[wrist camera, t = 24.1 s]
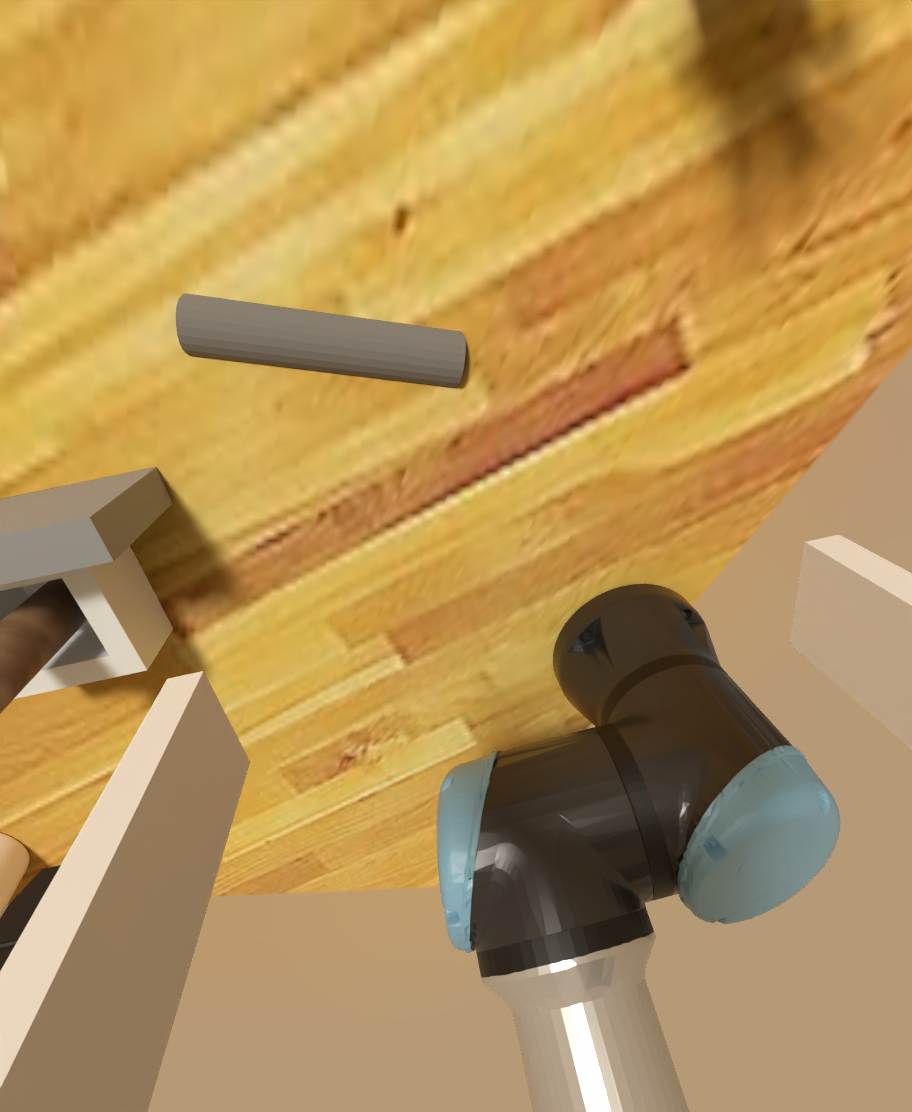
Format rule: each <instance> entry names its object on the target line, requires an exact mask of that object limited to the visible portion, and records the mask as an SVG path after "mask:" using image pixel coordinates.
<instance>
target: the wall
mask: <svg viewBox="0 0 912 1112" xmlns="http://www.w3.org/2000/svg"><path fill="white" fill-rule="evenodd" d="M172 504H173V502H172V500H171V498H170V496H169V494H168V491H167V489H166V487H165V485H164V483H163V481H162V478H161V476H160V474H159V472H158V470H157V468H156V467H154V468H149V469H145V470H140V471H135V472H130V473H125V474H120V475H115V476H110V477H105V478H101V479H96V480H91V481H86V482H81V483H76V484H71V485H66V486H61V487H57V488H52V489H47V490H42V491H37V492H32V493H27V494H22V495H17V496H12V497H8V498H3V499H0V585H3V584H8V583H13V582H17V581H22V580H27V579H32V578H37V577H41V576H46V575H51V574H56V573H61V572H65V571H70V570H75V569H80V568H85V567H89V566H94V565H99V564H104V563H109V562H113V561H115V560H116V559H117V558H118V557H119V556H120V555H121V554H122V553H123V552H124V551H125V550H126V549H127V548H128V547H129V546H130V545H131V544H132V543H133V542H134V541H135V540H136V539H137V538H138V537H139V536H140V535H141V534H142V533H143V532H144V531H145V530H146V529H147V528H148V527H149V526H150V525H151V524H152V523H153V522H154V521H156V520H157V519H158V518H159V517H160V516H161V515H162V514H163V513H164V512H165V511H166V510H167V509H168V508H169V507H170V506H171V505H172Z"/></svg>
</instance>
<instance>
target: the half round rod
mask: <svg viewBox="0 0 912 1112" xmlns="http://www.w3.org/2000/svg"><path fill="white" fill-rule="evenodd" d="M176 327H177V334H178V338H179V342H180V345H181V347H182V349H183V350H184V351H185V352H186V353H187V354H188V355H190V356H198V357H206V358H214V359H223V360H231V361H239V362H247V363H256V364H264V365H272V366H280V367H289V368H297V369H305V370H313V371H322V372H330V373H338V374H346V375H355V376H363V377H371V378H379V379H388V380H396V381H404V382H412V383H421V384H429V385H437V386H445V387H454V388H455V387H457V386H458V385H459V384H460V381H461V379H462V375H463V371H464V365H465V356H466V339H465V337H464V334H463V333H462V332H459V331H452V330H445V329H437V328H430V327H423V326H416V325H408V324H401V323H394V322H387V321H380V320H372V319H365V318H358V317H351V316H344V315H336V314H329V313H322V312H315V311H308V310H300V309H293V308H286V307H279V306H272V305H264V304H257V303H250V302H243V301H236V300H228V299H221V298H214V297H207V296H200V295H192V294H183V295H182V296H181V297H180V298H179V300H178V303H177V307H176Z"/></svg>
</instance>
